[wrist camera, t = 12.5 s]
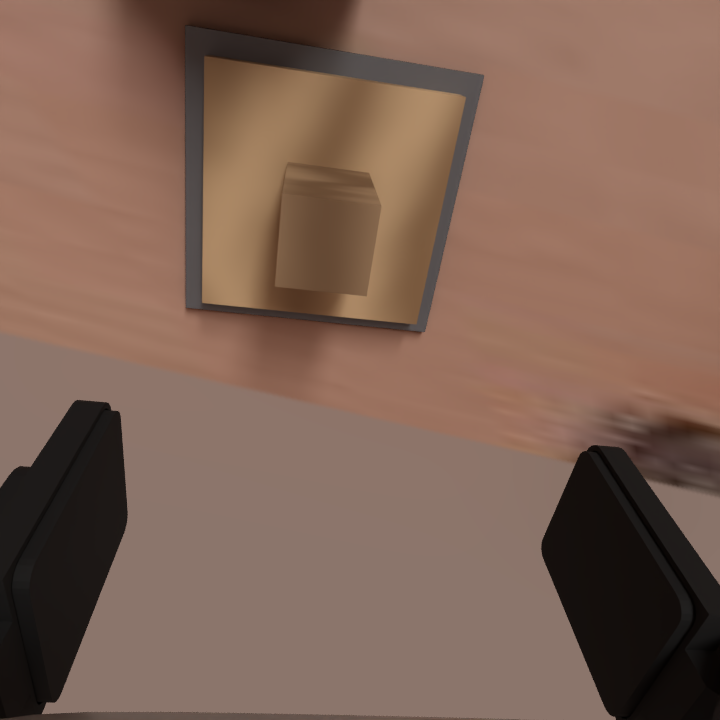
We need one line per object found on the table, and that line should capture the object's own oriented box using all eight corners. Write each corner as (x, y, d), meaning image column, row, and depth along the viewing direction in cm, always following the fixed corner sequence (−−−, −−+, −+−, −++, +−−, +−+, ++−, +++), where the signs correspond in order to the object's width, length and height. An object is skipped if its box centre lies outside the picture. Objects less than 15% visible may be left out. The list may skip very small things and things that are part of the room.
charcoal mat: (481, 74, 28) (484, 75, 27) (423, 328, 35) (424, 331, 34) (187, 25, 26) (185, 25, 26) (187, 303, 33) (185, 307, 32)
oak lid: (460, 94, 28) (502, 114, 22) (413, 315, 34) (435, 380, 28) (208, 54, 26) (176, 63, 20) (205, 293, 32) (180, 358, 26)
